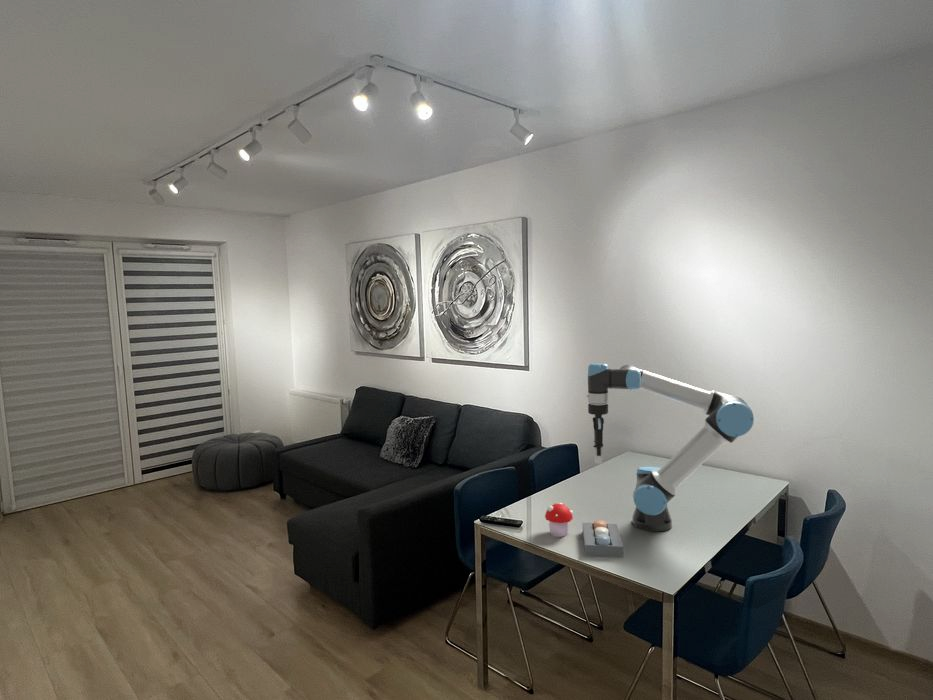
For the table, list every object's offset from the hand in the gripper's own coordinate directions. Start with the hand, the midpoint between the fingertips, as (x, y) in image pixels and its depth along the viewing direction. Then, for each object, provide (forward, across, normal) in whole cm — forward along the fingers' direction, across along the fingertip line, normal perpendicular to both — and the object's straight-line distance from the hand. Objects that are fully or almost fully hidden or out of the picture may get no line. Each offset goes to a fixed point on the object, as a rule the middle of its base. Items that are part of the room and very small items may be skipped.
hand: (598, 463), depth 209 cm
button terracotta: (+26, +5, 0) cm, 27 cm away
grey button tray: (+27, +12, 0) cm, 30 cm away
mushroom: (+28, +4, -16) cm, 32 cm away
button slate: (+26, +19, 0) cm, 32 cm away
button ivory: (+26, +12, 0) cm, 29 cm away
